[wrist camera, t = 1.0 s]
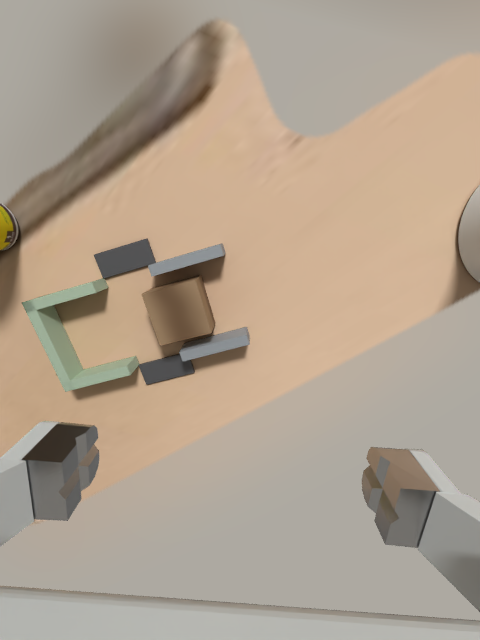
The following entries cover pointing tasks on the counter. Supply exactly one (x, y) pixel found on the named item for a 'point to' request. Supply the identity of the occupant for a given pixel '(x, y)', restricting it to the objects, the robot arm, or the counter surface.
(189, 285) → the walnut block
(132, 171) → the counter surface
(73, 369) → the trap channel
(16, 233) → the supplement bottle
